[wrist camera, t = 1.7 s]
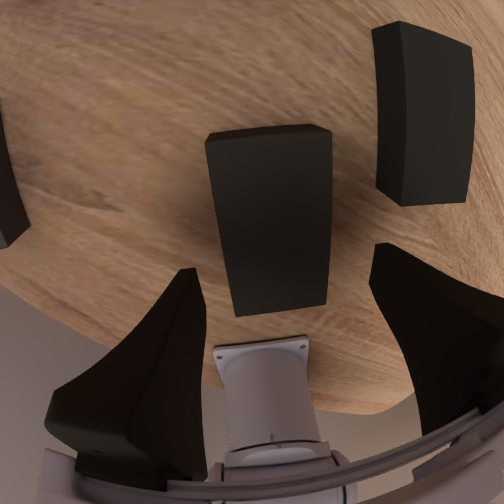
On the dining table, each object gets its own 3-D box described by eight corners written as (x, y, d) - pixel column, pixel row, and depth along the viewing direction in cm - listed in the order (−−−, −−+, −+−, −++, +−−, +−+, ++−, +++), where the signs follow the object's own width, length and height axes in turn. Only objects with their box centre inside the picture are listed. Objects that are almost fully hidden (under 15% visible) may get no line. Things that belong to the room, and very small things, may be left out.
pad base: (438, 185, 16) (465, 203, 13) (375, 187, 15) (400, 207, 13) (440, 47, 10) (471, 46, 8) (371, 29, 10) (399, 20, 8)
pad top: (314, 275, 19) (326, 304, 16) (234, 286, 19) (235, 317, 16) (313, 123, 13) (332, 131, 11) (209, 133, 13) (204, 142, 11)
